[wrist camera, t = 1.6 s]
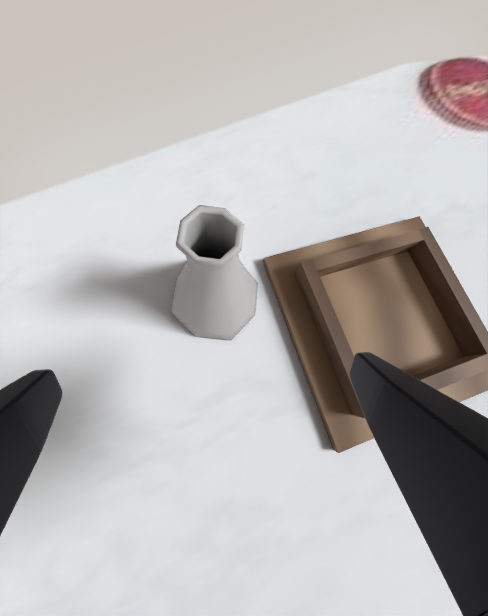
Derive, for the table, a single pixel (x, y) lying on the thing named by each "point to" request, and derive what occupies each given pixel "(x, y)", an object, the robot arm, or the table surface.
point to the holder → (378, 318)
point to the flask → (213, 275)
